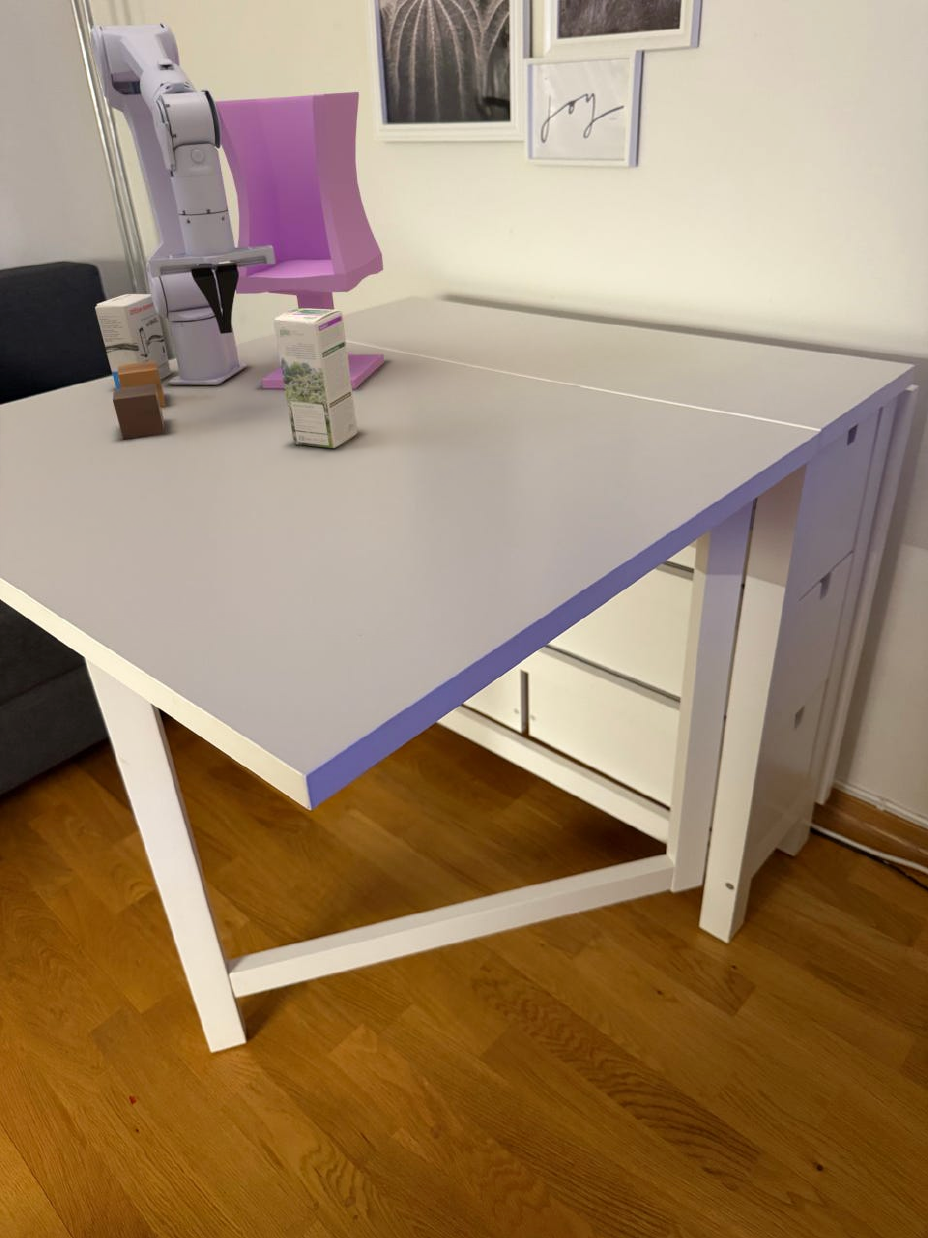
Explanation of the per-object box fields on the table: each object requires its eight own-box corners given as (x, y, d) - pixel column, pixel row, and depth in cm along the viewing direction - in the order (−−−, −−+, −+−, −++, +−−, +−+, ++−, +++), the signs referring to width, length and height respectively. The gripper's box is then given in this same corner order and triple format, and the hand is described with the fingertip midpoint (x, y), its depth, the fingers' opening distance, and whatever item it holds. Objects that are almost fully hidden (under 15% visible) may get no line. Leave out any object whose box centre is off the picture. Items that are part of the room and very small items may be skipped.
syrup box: (359, 433, 107) (344, 307, 99) (333, 450, 102) (315, 319, 95) (319, 429, 109) (301, 305, 102) (291, 445, 105) (270, 317, 97)
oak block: (127, 401, 124) (117, 365, 122) (164, 396, 125) (156, 360, 123) (127, 411, 120) (117, 374, 118) (165, 406, 121) (157, 369, 119)
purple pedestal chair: (253, 390, 126) (201, 101, 108) (295, 360, 139) (255, 98, 121) (359, 390, 122) (324, 93, 104) (392, 360, 135) (365, 91, 117)
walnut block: (123, 427, 114) (113, 388, 112) (164, 421, 115) (155, 383, 113) (123, 439, 110) (112, 399, 107) (165, 433, 111) (155, 393, 109)
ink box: (145, 389, 129) (124, 304, 123) (114, 389, 130) (92, 305, 124) (173, 373, 136) (155, 292, 130) (143, 373, 137) (124, 292, 131)
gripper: (139, 221, 99) (166, 346, 106) (270, 209, 103) (289, 330, 110) (138, 215, 105) (164, 333, 112) (262, 203, 109) (280, 319, 115)
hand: (225, 331), depth 111 cm, fingers closed
